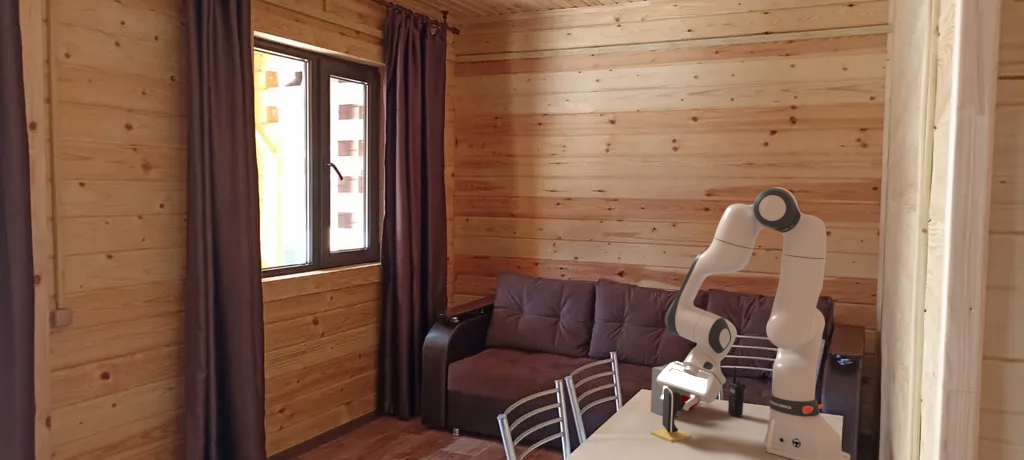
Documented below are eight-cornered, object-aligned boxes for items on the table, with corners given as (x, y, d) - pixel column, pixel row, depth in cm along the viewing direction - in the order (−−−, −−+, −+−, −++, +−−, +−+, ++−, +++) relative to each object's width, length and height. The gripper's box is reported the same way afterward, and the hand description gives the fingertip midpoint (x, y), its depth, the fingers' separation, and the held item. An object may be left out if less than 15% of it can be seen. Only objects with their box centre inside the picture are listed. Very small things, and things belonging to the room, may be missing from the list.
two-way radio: (725, 412, 239) (727, 366, 239) (738, 412, 241) (740, 365, 240) (735, 418, 234) (737, 370, 233) (748, 417, 235) (750, 369, 235)
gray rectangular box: (680, 414, 236) (682, 366, 235) (666, 417, 233) (668, 368, 232) (663, 408, 242) (665, 361, 241) (649, 411, 239) (651, 363, 238)
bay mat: (691, 437, 214) (691, 435, 214) (670, 442, 209) (670, 439, 209) (670, 429, 221) (671, 427, 220) (650, 433, 216) (650, 431, 216)
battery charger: (681, 433, 212) (683, 393, 211) (668, 433, 211) (669, 393, 211) (674, 425, 219) (676, 386, 218) (661, 425, 218) (663, 386, 218)
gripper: (667, 353, 227) (642, 389, 222) (720, 368, 210) (694, 407, 205) (677, 366, 230) (652, 402, 225) (730, 382, 213) (705, 421, 208)
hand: (673, 405), depth 215 cm, fingers closed on battery charger, 7 cm apart
